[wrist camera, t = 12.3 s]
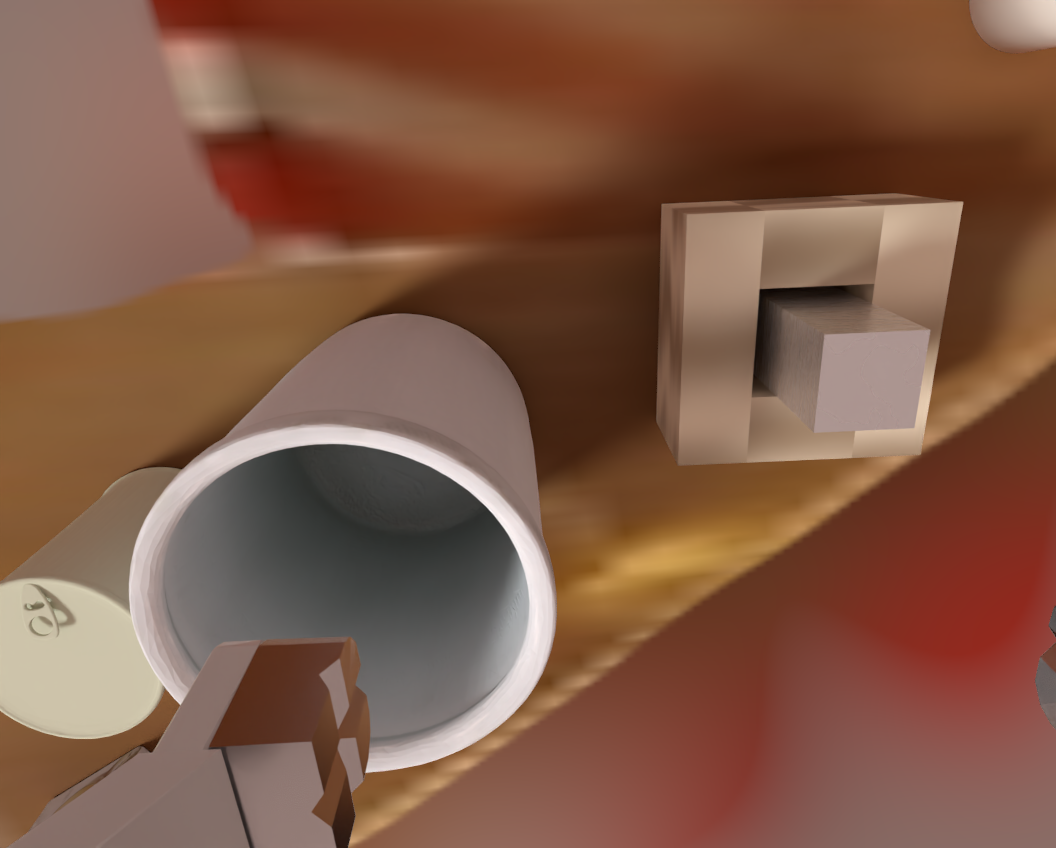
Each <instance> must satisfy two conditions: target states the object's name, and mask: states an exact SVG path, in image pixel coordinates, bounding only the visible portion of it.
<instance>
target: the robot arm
mask: <svg viewBox="0 0 1056 848" xmlns="http://www.w3.org/2000/svg"><path fill="white" fill-rule="evenodd" d="M1049 627H1050V629H1051V631H1052V632H1053V634H1054V635H1055V637H1056V606H1055V607H1054V609H1053V613H1052V616H1051V619H1050V623H1049ZM360 666H361V663H360V658H359V654H358V649H357V645H356V642H355V641H354V640H353V639H352V638H351V637H324V638H295V639H267V640H266V641H263V640H252V641H230V642H223V643H221V644H220V645H218V646H216V647H215V648H214V649H213V650H212V652H211V654H210V655H209V657H208V659H207V660H206V662H205V664H204V666H203V667H202V669H201V671H200V672H199V674H198V676H197V678H196V679H195V681H194V683H193V684H192V686H191V688H190V690H189V691H188V693H187V695H186V696H185V698H184V700H183V702H182V703H181V705H180V707H179V708H178V710H177V712H176V714H175V715H174V717H173V719H172V720H171V722H170V724H169V726H168V727H167V729H166V731H165V732H164V734H163V736H162V738H161V739H160V741H159V743H158V744H157V746H156V748H155V750H154V751H153V753H139V754H137V755H136V756H134V757H133V758H132V759H130V760H129V761H127V762H126V763H125V764H123V765H122V766H120V767H119V768H118V769H116V770H115V771H113V772H112V773H111V774H109V775H108V776H106V777H105V778H104V779H102V780H101V781H99V782H98V783H97V784H95V785H94V786H92V787H91V788H90V789H88V790H87V791H85V792H84V793H83V794H81V795H80V796H78V797H77V798H76V799H74V800H73V801H71V802H70V803H69V804H67V805H66V806H64V807H63V808H62V809H60V810H59V811H57V812H56V813H55V814H53V815H52V816H50V817H49V818H48V819H46V820H45V821H43V822H42V823H41V824H39V825H38V826H36V827H35V828H34V829H32V830H31V831H29V832H28V833H27V834H25V835H24V836H22V837H21V838H20V839H18V840H17V841H15V842H14V843H13V844H11V845H10V846H8V847H7V848H348V845H349V841H350V837H351V833H352V829H353V824H354V820H355V816H356V815H355V810H354V805H353V800H352V795H351V793H352V792H353V791H354V790H355V789H356V788H357V787H358V786H359V785H360V784H361V783H362V782H363V781H364V777H365V772H366V768H367V763H368V758H369V746H370V733H371V731H370V713H369V706H368V701H367V695H366V694H365V693H364V692H363V691H362V690H361V689H359V688H358V687H357V686H356V685H355V684H356V681H357V677H358V674H359V670H360ZM1035 682H1036V687H1037V692H1038V696H1039V701H1040V705H1041V707H1042V709H1043V710H1044V713H1045V714H1046V716H1047V718H1048V720H1049V721H1050V723H1051V725H1052V726H1053V727H1054V728H1055V729H1056V643H1055V644H1053V645H1052V646H1051V647H1050V648H1049V649H1048V650H1047V651H1046V652H1045V653H1044V654H1043V655H1042V656H1041V657H1040V660H1039V665H1038V669H1037V674H1036V679H1035Z"/></svg>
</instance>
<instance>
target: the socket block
mask: <svg viewBox="0 0 1056 848" xmlns="http://www.w3.org/2000/svg"><path fill="white" fill-rule="evenodd" d="M962 207H963V202H960V201H952V200H945V199H937V198H929V197H921V196H913V195H906V194H898V193H890V194H868V195H846V196H824V197H802V198H779V199H757V200H735V201H713V202H691V203H669V204H662V206H661V248H660V290H659V331H658V373H657V415H656V422H657V424H658V426H659V428H660V430H661V432H662V434H663V436H664V438H665V440H666V442H667V444H668V446H669V448H670V450H671V452H672V454H673V456H674V458H675V460H676V462H677V465H701V464H724V463H747V462H770V461H792V460H815V459H838V458H861V457H884V456H906V455H921V449H922V443H923V437H924V431H925V425H926V419H927V414H928V408H929V402H930V396H931V390H932V384H933V378H934V372H935V366H936V360H937V355H938V349H939V343H940V337H941V331H942V325H943V319H944V313H945V307H946V301H947V296H948V290H949V284H950V278H951V272H952V266H953V260H954V254H955V248H956V243H957V237H958V231H959V225H960V219H961V213H962ZM815 286H834V287H836V288H839V289H841V290H843V291H845V292H847V293H850V294H852V295H854V296H856V297H859V298H861V299H863V300H865V301H867V302H870V303H872V304H874V305H876V306H879V307H881V308H883V309H885V310H888V311H890V312H892V313H894V314H896V315H899V316H901V317H903V318H905V319H908V320H910V321H912V322H914V323H916V324H919V325H921V326H923V327H925V328H928V329H930V336H929V342H928V348H927V355H926V361H925V367H924V373H923V379H922V385H921V391H920V397H919V404H918V410H917V416H916V422H915V428H909V429H887V430H864V431H842V432H819V433H814V432H813V431H811V430H810V429H809V428H808V427H807V426H806V425H805V424H804V423H803V422H802V421H801V420H800V419H799V418H798V417H797V416H796V415H795V414H794V413H793V412H792V411H791V410H790V409H789V408H788V407H787V406H786V405H785V404H784V403H783V402H782V401H781V400H780V399H779V398H778V397H777V396H776V395H775V394H774V393H773V392H771V391H770V390H769V389H768V388H767V387H766V386H765V385H764V384H763V383H762V382H761V381H760V380H759V379H758V378H757V377H756V376H755V375H754V374H753V370H754V357H755V343H756V330H757V316H758V303H759V289H771V288H793V287H815Z"/></svg>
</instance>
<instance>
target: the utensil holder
mask: <svg viewBox="0 0 1056 848" xmlns="http://www.w3.org/2000/svg"><path fill="white" fill-rule="evenodd" d="M129 602H130V613H131V618H132V622H133V626H134V630H135V633H136V636H137V639H138V641H139V644H140V646H141V648H142V651H143V653H144V655H145V657H146V659H147V661H148V662H149V664H150V666H151V667H152V669H153V671H154V673H155V674H156V676H157V677H158V679H159V680H160V681H161V683H162V684H163V685H164V687H165V688H166V689H167V690H168V692H169V693H170V694H171V695H172V696H173V698H174V699H175V700H176V701H177V702H178V703H179V704H180V705H181V703H182V702H183V700H184V698H185V696H186V695H187V693H188V691H189V690H190V688H191V686H192V684H193V683H194V681H195V679H196V678H197V676H198V674H199V672H200V671H201V669H202V667H203V666H204V664H205V662H206V660H207V659H208V657H209V655H210V654H211V652H212V650H213V649H214V648H215V647H216V646H218V645H220V644H221V643H223V642H230V641H252V640H263V641H266V640H267V639H295V638H324V637H351V638H352V639H353V640H354V641H355V642H356V645H357V649H358V654H359V658H360V663H361V666H360V670H359V674H358V677H357V681H356V684H355V685H356V686H357V687H358V688H359V689H361V690H362V691H363V692H364V693H365V694H366V695H367V701H368V706H369V713H370V731H371V733H370V746H369V758H368V763H367V768H366V772H377V771H387V770H394V769H401V768H406V767H411V766H416V765H421V764H424V763H428V762H431V761H434V760H437V759H440V758H443V757H445V756H448V755H450V754H452V753H455V752H457V751H459V750H462V749H464V748H466V747H468V746H469V745H471V744H473V743H475V742H477V741H478V740H480V739H481V738H483V737H485V736H486V735H487V734H489V733H490V732H492V731H493V730H494V729H496V728H497V727H498V726H500V725H501V724H502V723H503V722H504V721H506V720H507V719H508V718H509V717H510V716H511V715H512V714H513V713H514V712H515V711H516V710H517V709H518V708H519V707H520V706H521V705H522V703H523V702H524V701H525V700H526V699H527V697H528V696H529V695H530V693H531V692H532V690H533V689H534V688H535V686H536V684H537V682H538V680H539V679H540V677H541V675H542V673H543V671H544V668H545V666H546V663H547V661H548V658H549V655H550V652H551V648H552V644H553V640H554V635H555V630H556V618H557V598H556V587H555V579H554V573H553V568H552V564H551V560H550V556H549V553H548V549H547V547H546V544H545V541H544V538H543V536H542V526H541V515H540V504H539V494H538V483H537V474H536V465H535V456H534V447H533V441H532V436H531V430H530V425H529V418H528V414H527V409H526V406H525V402H524V398H523V396H522V393H521V390H520V388H519V386H518V384H517V382H516V380H515V378H514V376H513V375H512V373H511V371H510V370H509V368H508V367H507V366H506V364H505V363H504V362H503V360H502V359H501V358H500V357H499V356H498V355H497V354H496V352H495V351H494V350H493V349H492V348H491V347H490V346H488V345H487V344H486V343H485V342H483V341H482V340H481V339H480V338H478V337H477V336H475V335H474V334H472V333H470V332H469V331H467V330H465V329H463V328H461V327H459V326H457V325H455V324H452V323H450V322H447V321H444V320H441V319H438V318H434V317H430V316H424V315H417V314H389V315H381V316H376V317H371V318H368V319H364V320H361V321H359V322H356V323H354V324H351V325H349V326H347V327H345V328H343V329H341V330H340V331H338V332H337V333H335V334H334V335H332V336H331V337H329V338H328V339H327V340H325V341H324V342H323V343H322V344H320V345H319V346H318V347H317V348H315V349H314V350H313V351H312V352H311V353H309V354H308V355H307V356H306V357H305V358H304V359H302V360H301V361H300V362H299V363H298V364H297V365H296V366H295V367H294V368H293V369H292V370H291V371H290V372H288V373H287V374H286V375H285V376H284V377H283V378H282V379H281V380H280V381H279V383H278V384H277V385H276V386H275V387H274V388H273V389H272V390H271V391H270V392H269V393H268V394H267V395H266V396H265V397H264V398H263V399H262V400H261V401H260V402H259V403H258V404H257V405H256V406H255V407H254V408H253V409H252V410H251V411H250V412H249V413H248V414H247V415H246V416H245V417H244V418H243V419H242V420H241V421H240V422H239V423H238V424H237V425H236V426H235V427H234V428H233V429H232V430H231V431H230V432H229V433H228V434H227V435H226V437H225V438H223V439H221V440H220V441H218V442H216V443H215V444H213V445H212V446H210V447H209V448H207V449H206V450H205V451H203V452H202V453H201V454H199V455H198V456H197V457H196V458H194V459H193V460H192V461H191V462H190V463H189V464H188V465H187V466H186V467H185V468H184V469H182V470H181V471H180V472H179V473H178V475H177V476H176V477H175V478H174V479H173V480H172V481H171V483H170V484H169V485H168V486H167V487H166V489H165V490H164V491H163V493H162V494H161V495H160V497H159V498H158V499H157V501H156V502H155V504H154V505H153V507H152V509H151V510H150V512H149V514H148V516H147V517H146V519H145V521H144V523H143V526H142V528H141V530H140V532H139V535H138V538H137V540H136V544H135V547H134V551H133V556H132V561H131V566H130V576H129Z"/></svg>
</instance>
